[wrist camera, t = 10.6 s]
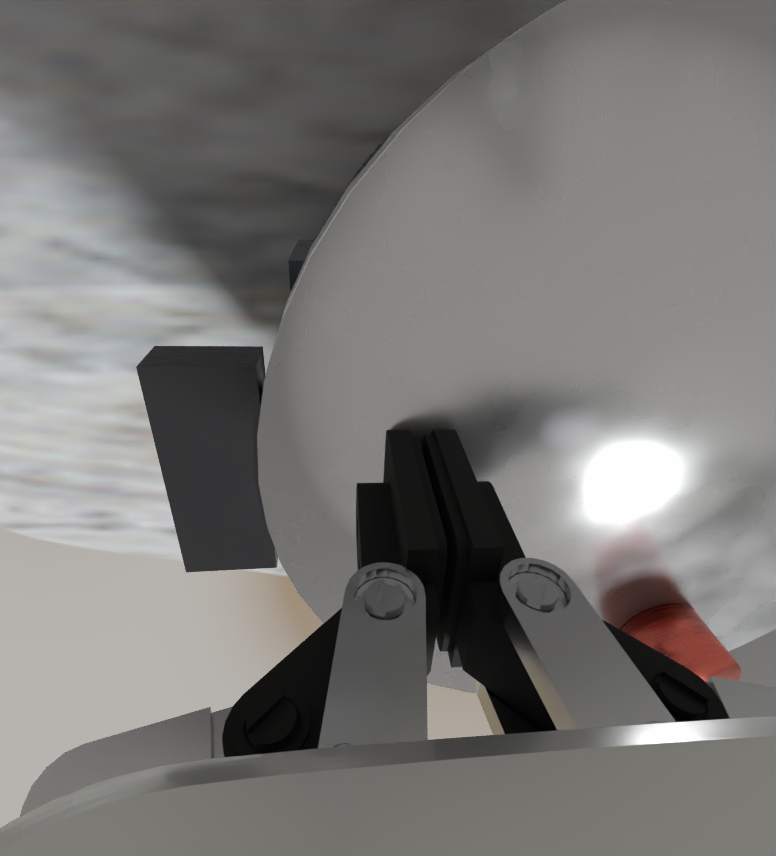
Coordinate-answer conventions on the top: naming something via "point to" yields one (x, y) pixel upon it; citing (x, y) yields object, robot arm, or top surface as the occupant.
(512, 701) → the robot arm
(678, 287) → the lid
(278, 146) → the top surface
